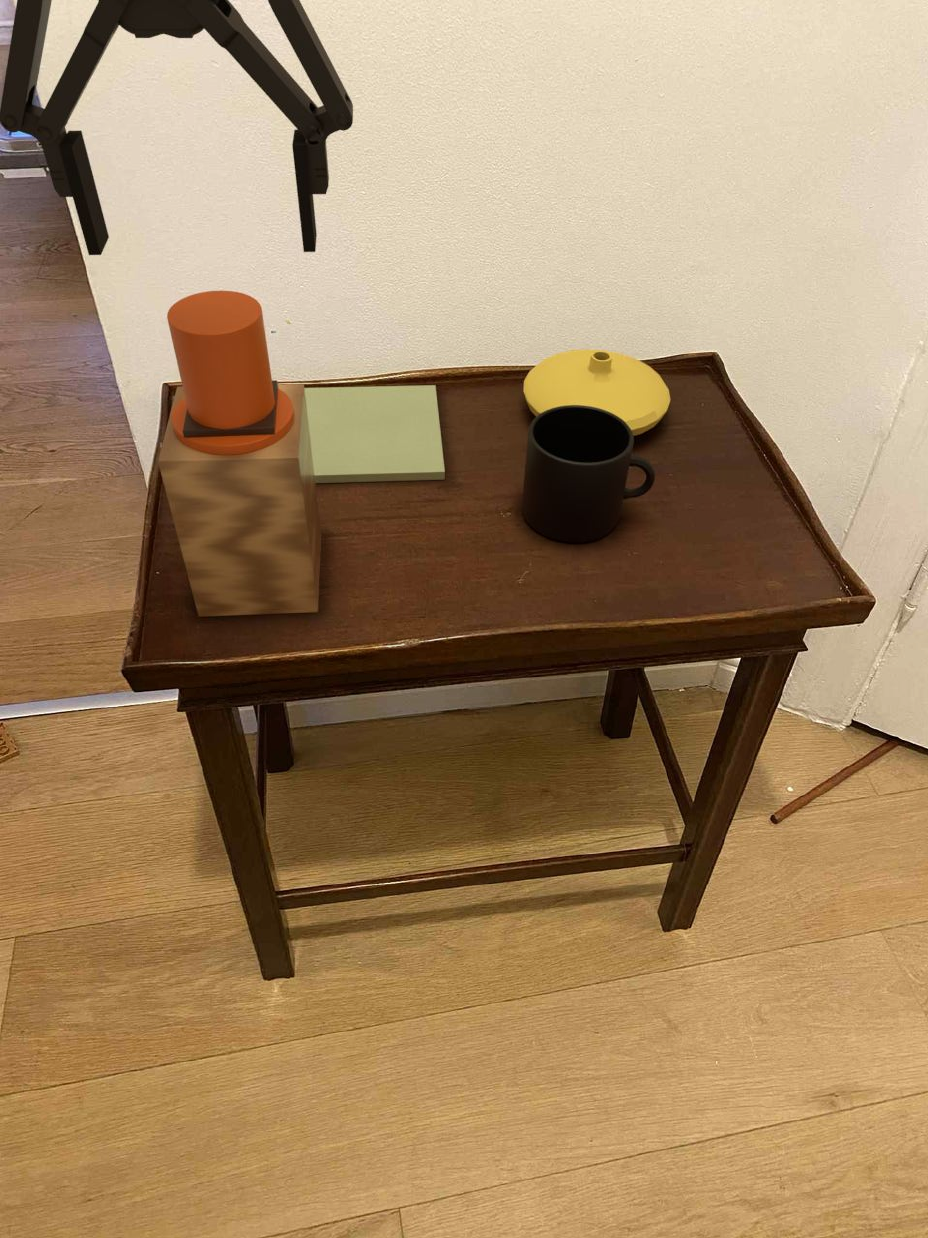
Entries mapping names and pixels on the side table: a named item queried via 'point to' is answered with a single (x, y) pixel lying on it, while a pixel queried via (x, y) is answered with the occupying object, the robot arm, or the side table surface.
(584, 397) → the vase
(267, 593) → the block
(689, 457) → the side table surface
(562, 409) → the mug
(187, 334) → the hat
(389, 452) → the mat
